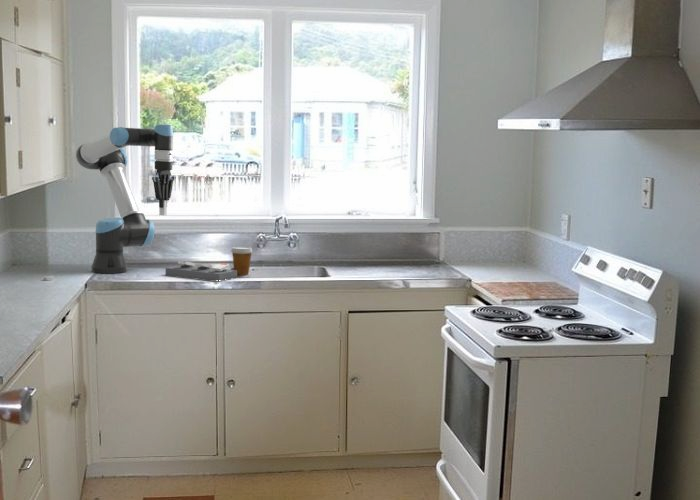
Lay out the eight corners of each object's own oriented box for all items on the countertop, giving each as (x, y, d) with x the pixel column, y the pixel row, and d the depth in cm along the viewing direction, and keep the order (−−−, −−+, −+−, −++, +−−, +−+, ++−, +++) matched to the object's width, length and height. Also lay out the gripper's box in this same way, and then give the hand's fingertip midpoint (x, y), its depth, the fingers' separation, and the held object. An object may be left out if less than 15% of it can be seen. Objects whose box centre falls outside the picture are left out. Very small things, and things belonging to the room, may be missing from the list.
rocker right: (212, 270, 366) (211, 267, 366) (220, 265, 372) (220, 262, 372) (220, 271, 364) (220, 268, 364) (229, 266, 370) (229, 263, 370)
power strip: (165, 275, 371) (165, 266, 370) (184, 271, 383) (184, 263, 383) (219, 281, 359) (219, 272, 359) (237, 277, 372) (237, 269, 371)
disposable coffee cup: (248, 276, 377) (248, 249, 375) (227, 274, 379) (228, 248, 377) (254, 273, 386) (255, 247, 385) (234, 272, 388) (235, 246, 386)
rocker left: (177, 263, 373) (178, 260, 373) (186, 265, 380) (187, 262, 380) (185, 264, 372) (186, 261, 372) (194, 265, 378) (195, 262, 378)
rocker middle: (194, 265, 370) (195, 262, 370) (203, 266, 376) (203, 264, 376) (202, 266, 368) (203, 263, 368) (211, 267, 374) (212, 264, 374)
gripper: (161, 161, 357) (160, 216, 360) (179, 161, 369) (179, 215, 371) (146, 160, 360) (146, 215, 363) (165, 160, 372) (165, 213, 374)
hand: (162, 215), depth 367 cm, fingers closed
